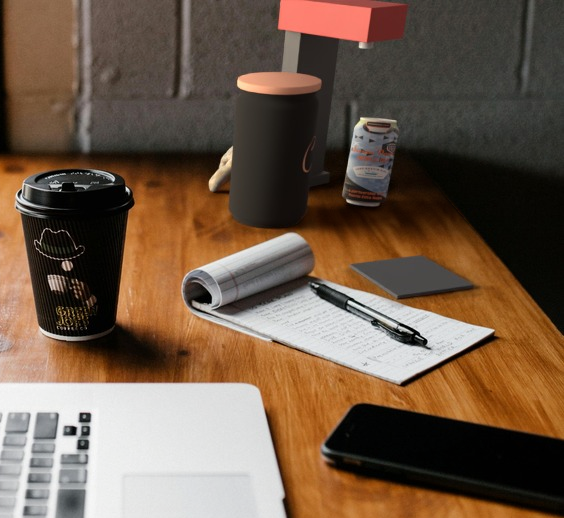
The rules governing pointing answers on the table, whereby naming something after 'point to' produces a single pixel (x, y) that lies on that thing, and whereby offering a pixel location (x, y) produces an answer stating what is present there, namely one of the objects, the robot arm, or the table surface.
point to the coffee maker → (332, 47)
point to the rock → (222, 172)
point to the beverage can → (370, 161)
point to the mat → (410, 276)
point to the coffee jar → (273, 148)
